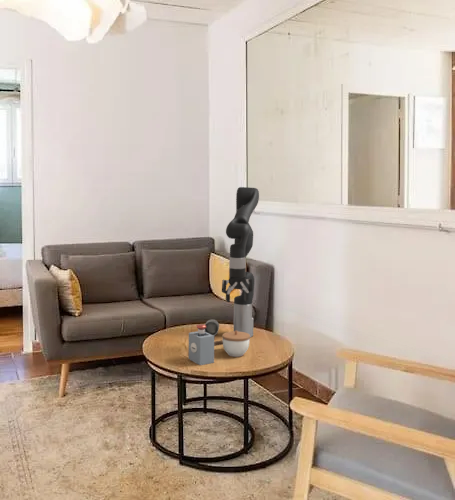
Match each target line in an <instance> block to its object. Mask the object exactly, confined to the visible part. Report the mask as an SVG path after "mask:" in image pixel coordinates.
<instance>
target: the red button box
mask: <svg viewBox="0 0 455 500" xmlns="http://www.w3.org/2000/svg"><path fill="white" fill-rule="evenodd" d="M214 342H215V335H211V334H209V333H207V332H205V336H200V337H199V336H198V330H197V331H191V332H188V360H189V359H190V360H189V361H192V362H193V363H195V364H196V365H199V366H205V365H208V364H214V363H215V346H214Z"/></svg>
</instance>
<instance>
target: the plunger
mask: <svg viewBox="0 0 455 500" xmlns="http://www.w3.org/2000/svg"><path fill="white" fill-rule="evenodd" d="M205 324H206V323H205ZM205 324H204V323H203V324H202V323H200V324H196V329H197V331H198V336H199V337H200V336H205V328H206V325H205Z"/></svg>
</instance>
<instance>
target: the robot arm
mask: <svg viewBox="0 0 455 500" xmlns="http://www.w3.org/2000/svg"><path fill="white" fill-rule="evenodd" d="M235 195H236V197H235V207H236V209H235V210H236V211H235V214H234V218H233V219H232V220H231V221H230V222H229V223H228V224H227V225H226V229H225V235H226V236H227V237H228V238H229V239H233V240H234V243H232V244H231V245H230V246H229V261H228V263H229V265H228V266H229V268H228V274H229V275H228V276H229V277H228V279H223V280H222V282H221V292H222V293H223V294H225V301H226V302H227V303H230V302H231V292H232V291H233V290H242V291H241V292H242V293H241V295H237V296H235V297H234V298H233V331H239V332H245V333H248V334H249V335H250V338H251V337H253V336H254V317H253V299H254V294H255V276H254V274H253V273H252V272H249V271H246V270H247V269H246V268H247V267H246V266H247V265H246V263H247V261H246V258H247V256H248V255H249V253H250V252H251V250H252V247H253V244H254V231H253V228H252V227H251V225H250V223H249V222H250V218H251V215H252V214H253V212H254V211H255V209H256V207H257V206H258V204H259V201H260V191H259V189H258V188H256V187H249V186H248V187H244V186H239V187H238V188H237V190H236V194H235ZM228 284H229V285H228ZM227 285H228V286H227Z"/></svg>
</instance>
